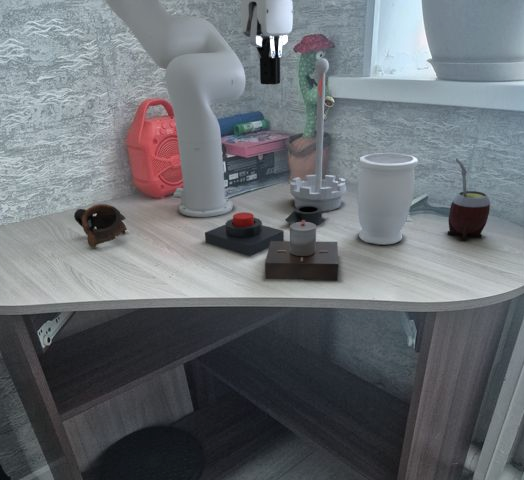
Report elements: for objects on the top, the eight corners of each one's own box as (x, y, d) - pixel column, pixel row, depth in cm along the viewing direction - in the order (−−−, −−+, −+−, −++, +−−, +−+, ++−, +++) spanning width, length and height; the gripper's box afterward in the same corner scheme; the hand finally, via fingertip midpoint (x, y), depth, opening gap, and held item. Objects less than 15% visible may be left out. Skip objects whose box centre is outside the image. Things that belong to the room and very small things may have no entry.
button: (229, 225, 94) (228, 216, 93) (243, 219, 96) (242, 211, 95) (244, 229, 91) (243, 220, 90) (258, 223, 94) (257, 214, 93)
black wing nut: (284, 217, 108) (284, 204, 106) (329, 216, 107) (330, 203, 106) (284, 229, 101) (284, 215, 100) (332, 228, 101) (333, 214, 99)
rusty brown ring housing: (140, 234, 103) (132, 207, 95) (118, 267, 99) (108, 242, 91) (90, 216, 104) (79, 188, 97) (66, 249, 100) (53, 221, 93)
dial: (315, 256, 80) (316, 228, 78) (289, 256, 81) (288, 228, 78) (315, 246, 84) (316, 219, 82) (290, 246, 85) (290, 219, 82)
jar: (408, 249, 90) (420, 165, 82) (352, 246, 92) (358, 164, 84) (406, 229, 99) (416, 152, 90) (355, 227, 100) (360, 151, 92)
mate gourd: (483, 231, 96) (501, 151, 88) (482, 245, 90) (501, 161, 82) (444, 227, 99) (458, 150, 91) (441, 240, 93) (455, 159, 85)
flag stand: (294, 196, 122) (295, 57, 105) (346, 197, 119) (355, 55, 103) (286, 211, 111) (285, 60, 95) (343, 213, 109) (352, 58, 92)
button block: (205, 243, 96) (203, 223, 94) (240, 229, 102) (239, 210, 100) (249, 257, 89) (248, 236, 87) (283, 241, 95) (283, 221, 93)
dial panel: (265, 279, 81) (264, 262, 79) (271, 256, 89) (270, 240, 87) (337, 280, 79) (338, 262, 78) (336, 257, 88) (337, 240, 86)
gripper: (271, -43, 82) (273, 80, 93) (220, -52, 72) (229, 87, 82) (310, -47, 79) (308, 80, 89) (263, -58, 69) (267, 88, 79)
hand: (270, 83), depth 86 cm, fingers closed
